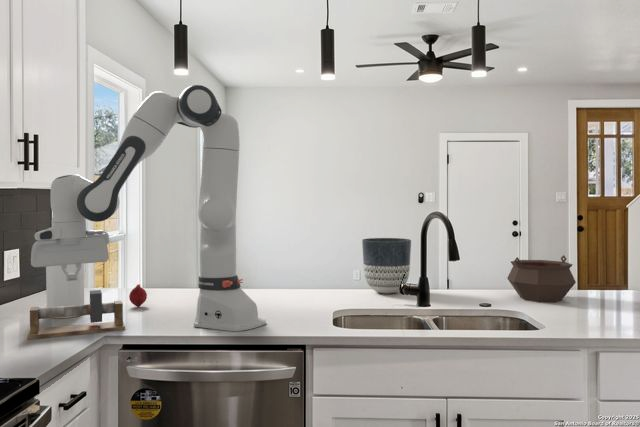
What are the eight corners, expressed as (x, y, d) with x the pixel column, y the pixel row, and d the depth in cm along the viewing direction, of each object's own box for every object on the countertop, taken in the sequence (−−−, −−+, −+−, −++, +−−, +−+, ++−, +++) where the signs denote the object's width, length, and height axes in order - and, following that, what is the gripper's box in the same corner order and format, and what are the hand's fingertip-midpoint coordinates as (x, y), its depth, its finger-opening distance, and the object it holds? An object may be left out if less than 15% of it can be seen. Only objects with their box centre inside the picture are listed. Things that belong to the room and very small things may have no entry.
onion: (141, 308, 189) (141, 285, 189) (126, 308, 190) (125, 285, 190) (149, 305, 194) (149, 283, 194) (135, 305, 196) (134, 282, 195)
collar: (101, 317, 162) (100, 289, 162) (102, 321, 157) (101, 293, 156) (90, 318, 161) (89, 290, 161) (90, 322, 155) (90, 294, 155)
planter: (409, 289, 228) (409, 238, 228) (412, 297, 209) (412, 241, 208) (362, 288, 230) (362, 237, 230) (361, 296, 211) (361, 241, 210)
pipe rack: (122, 324, 166) (122, 299, 165) (125, 329, 158) (124, 304, 158) (29, 332, 155) (29, 306, 155) (27, 339, 148) (27, 311, 148)
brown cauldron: (536, 307, 190) (536, 260, 190) (493, 295, 213) (494, 253, 213) (590, 302, 198) (591, 257, 197) (544, 292, 220) (544, 251, 220)
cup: (91, 312, 183) (91, 257, 182) (68, 319, 172) (67, 261, 172) (63, 310, 186) (62, 256, 185) (38, 317, 175) (37, 260, 174)
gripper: (107, 229, 163) (110, 275, 163) (30, 233, 154) (33, 282, 155) (109, 230, 157) (111, 277, 157) (28, 234, 148) (31, 285, 149)
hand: (72, 280), depth 156 cm, fingers closed
